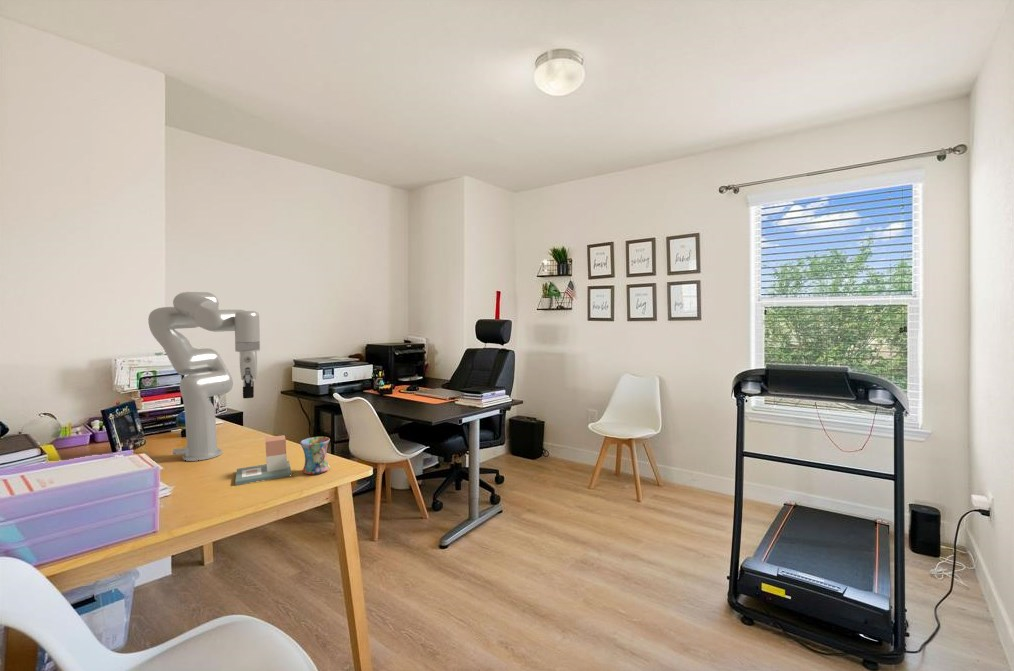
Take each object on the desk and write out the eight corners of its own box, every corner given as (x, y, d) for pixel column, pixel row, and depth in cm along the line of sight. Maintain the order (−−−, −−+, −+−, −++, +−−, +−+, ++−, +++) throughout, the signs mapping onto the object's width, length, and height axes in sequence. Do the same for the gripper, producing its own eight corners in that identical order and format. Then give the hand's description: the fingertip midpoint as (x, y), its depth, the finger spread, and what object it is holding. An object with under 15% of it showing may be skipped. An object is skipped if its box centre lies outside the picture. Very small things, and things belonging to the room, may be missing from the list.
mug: (297, 471, 160) (295, 440, 159) (324, 465, 166) (323, 435, 165) (310, 480, 151) (309, 447, 150) (339, 473, 157) (337, 441, 156)
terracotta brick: (266, 456, 156) (265, 441, 156) (265, 452, 161) (265, 437, 161) (286, 453, 159) (285, 439, 159) (285, 449, 164) (284, 435, 164)
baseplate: (235, 485, 148) (234, 462, 147) (236, 472, 160) (235, 451, 160) (291, 475, 155) (290, 454, 155) (288, 464, 168) (287, 444, 167)
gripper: (260, 349, 159) (260, 399, 160) (259, 343, 174) (260, 389, 175) (234, 349, 155) (235, 401, 157) (236, 344, 170) (237, 391, 172)
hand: (248, 395), depth 166 cm, fingers open, 9 cm apart
